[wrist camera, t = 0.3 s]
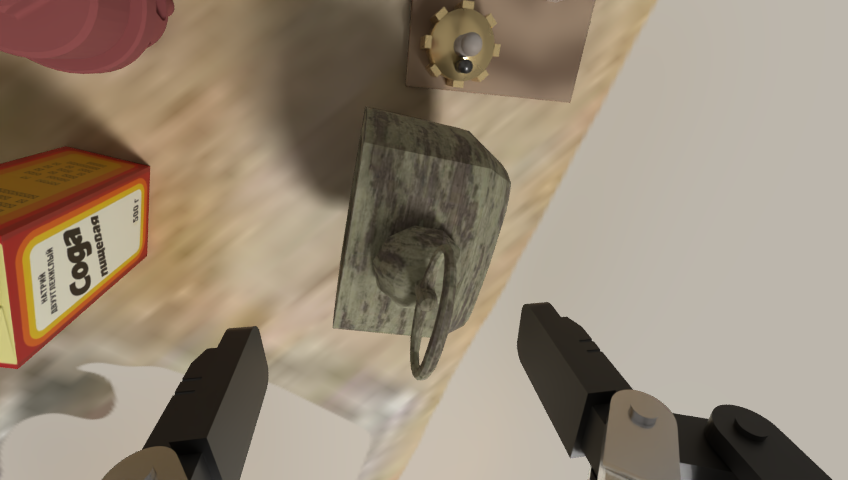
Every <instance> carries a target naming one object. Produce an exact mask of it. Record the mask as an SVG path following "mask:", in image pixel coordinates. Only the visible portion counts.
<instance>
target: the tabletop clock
mask: <svg viewBox="0 0 848 480" xmlns="http://www.w3.org/2000/svg"><path fill="white" fill-rule="evenodd" d="M510 187H511V182H510V179H509V176H508V173H507V171H506V170H505V168H504V167H503V165H502V164H501V163H500V162H499V161H498V160H497V159H496V158H495V157H494V156H493V155H492V154H491V153H490V152H489V151H488V150H487V149H486V148H485V147H484V146H483V145H482V144H481V143H480V142H479V141H478V140H477V139H476V138H475V137H474V136H473V135H472V134H471V133H470V132H469V131H467V130H463V129H460V128H456V127H452V126H447V125H443V124H439V123H435V122H430V121H426V120H422V119H417V118H413V117H409V116H404V115H400V114H396V113H391V112H387V111H383V110H378V109H374V108H370V107H366V108H365V113H364V118H363V124H362V130H361V136H360V142H359V148H358V154H357V160H356V166H355V172H354V178H353V184H352V191H351V197H350V203H349V209H348V215H347V221H346V228H345V234H344V241H343V247H342V254H341V261H340V269H339V277H338V285H337V293H336V301H335V310H334V319H333V328H335V329H346V330H356V331H367V332H377V333H388V334H398V335H409V336H411V345H410V362H411V370H412V374H413V376H414V377H415V378H416V379H417V380H425V379H427V378H428V377H429V376H430V375H431V373H432V372H433V371H434V370H435V368H436V365H437V363H438V361H439V358H440V356H441V354H442V351H443V347H444V344H445V341H446V338H447V335H448V333H450V332H452V331H454V330H456V329H458V328H460V327H462V326H464V324H465V323H466V322H467V320H468V319H469V317H470V315H471V313H472V310H473V308H474V305H475V303H476V300H477V297H478V295H479V292H480V289H481V287H482V284H483V281H484V278H485V276H486V273H487V270H488V268H489V265H490V262H491V258H492V255H493V252H494V249H495V246H496V242H497V239H498V236H499V233H500V230H501V226H502V223H503V220H504V216H505V213H506V209H507V205H508V200H509V194H510ZM421 337H430V341H429V344H428V347H427V350H426V353H425V356H424V359H423V361H422V363H421V365H419V348H420V343H421Z"/></svg>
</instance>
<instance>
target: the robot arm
mask: <svg viewBox="0 0 848 480" xmlns="http://www.w3.org/2000/svg"><path fill="white" fill-rule="evenodd" d="M517 349H518V355H519V359H520V362H521V364H522V366H523V368H524V369H525V371H526V373H527V375H528V377H529V379H530V381H531V383H532V385H533V387H534V389H535V391H536V393H537V395H538V396H539V399H540V400H541V402H542V404H543V406H544V408H545V410H546V412H547V414H548V416H549V418H550V420H551V421H552V423H553V425H554V427H555V429H556V431H557V433H558V435H559V437H560V439H561V441H562V443H563V445H564V446H565V449H566V450H567V453H568V455H569V457H570V458H576V457H583V456H586V458H587V459H588V461H589V463H590V465H591V466H590V469H589V473H588V480H832V479H831V478H830V477H829V476H828V475H827V474H826V473H825V472H824V471H823V470H822V469H820V468H819V467H818V466H817V465H816V464H815V463H814V462H813V461H812V460H811V459H810V458H809V457H808V456H806V454H805V453H804V452H803V451H802V450H800V449H799V448H798V447H797V446H796V445H795V444H794V443H793V442H792V441H791V440H790V439H789V438H788V437H787V436H786V435H785V434H784V433H783V432H781V431H780V430H779V429H778V428H777V427H776V426H775V425H773V423H771V422H770V421H769V420H767V419H766V418H764V417H762V416H761V415H759V414H757V413H755V412H753V411H751V410H748V409H745V408H743V407H739V406H735V405H720V406H717V407H716V408H715V409H714V410H713V411H712V414H711V416H710V418H709V419H705V418H698V417H693V416H686V415H680V414H674V413H672V412H671V411H670V410H669V408H668V407H667V406H666V405H664V404H663V403H662V402H660V401H659V400H658V399H656V398H655V397H653V396H651V395H649V394H646V393H644V392H641V391H636V390H633V389H632V388H631V387H630V385H629V384H628V383H627V382H626V380H625V379H624V378H623V377H622V376H621V374H620V373H619V372H618V371H617V370H616V368H615V367H614V366H613V364H612V363H611V362H610V361H609V360H608V359H607V357H606V356H605V355H604V354H603V352H600V349H599V348H598V346H597V345H596V344H595V342H593V341H592V339H591V337H590V336H589V335H588V334H587V333H586V331H585V330H584V329H583V328H582V327H581V326H580V325H578V324H577V323H575V322H574V321H572V320H571V319H569V318H568V317H560V315H559V314H558V313H557V312H556V310H555V309H554V307H553V306H552V305H551V304H550V303H548V302H544V303H533V304H525V305H523V308H522V313H521V320H520V326H519V333H518V341H517ZM267 385H268V365H267V361H266V357H265V353H264V348H263V344H262V340H261V336H260V332H259V329H258V327H256V326H253V327H241V328H229V329H227V330H226V332H225V333H224V335H223V337H222V339H221V341H220V343H219V345H218V347H217V348H209V349H206V350H205V351H204V352H203V353H202V354H201V355H200V356H199V357H198V358H196V359H195V360H194V361H193V362H192V363H191V365H190V367H189V368H188V370H187V372H186V374H185V375H184V377H183V381H182V382H180V384H179V386H178V388H177V389H176V391H175V395H174V396H173V397H172V398H171V400H170V402H169V403H168V405H167V407H166V409H165V410H164V412H163V414H162V416H161V417H160V419H159V421H158V423H157V424H156V426H155V428H154V430H153V431H152V433H151V435H150V437H149V438H148V440H147V442H146V444H145V445H144V447H143V449H142V450H140V451H138V452H136V453H134V454H132V455H130V456H128V457H126V458H125V459H123V460H122V461H121V462H119V463H118V464H117V465H115V466H114V467H113V468H112V469H111V470H110V471H109V472H108V473H107V474H106V475H105V476H104V478H103V479H102V480H240V477H241V473H242V470H243V467H244V463H245V460H246V457H247V453H248V450H249V447H250V443H251V440H252V436H253V433H254V430H255V426H256V423H257V420H258V416H259V413H260V410H261V406H262V403H263V399H264V396H265V393H266V389H267Z"/></svg>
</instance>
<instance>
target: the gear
mask: <svg viewBox="0 0 848 480" xmlns="http://www.w3.org/2000/svg"><path fill="white" fill-rule="evenodd" d="M473 9H474V2H473V1H466V0H463V1H461V2H460V3H458V4H457V5H455V9H454V10H453V11H451V12H449V13H448V11H447V10H446V8H445V7H443V8H442V9H440V10H439V11H438V12H436V13H435V14H434V15H433V16H432V17H431V18H430V19H429V20H430V21H431V23H432V24H434V25H433V26H432V27H431V29H430V31H429V33H428V35H425V36H423V37H421V40H420V49H423V50H426V55H427V59H428V61H429V64H428V65H427V66H426V67H425V69H426V70H427V72H428V73H429V74H430V76H431V77H438V76H439V75H440V76H441V77H443V78H446V85H447V86H451V87H459V88H463V85H464V81H467V80H471V81H476V82H481V81H482V80H484V79H485V78H486V77H487V76H488V75H489V74H488V72H487V71H486V70H485V69H486V68H487V66H488V65H489V63H490V61H491V59H492V57H499V53H500V46H501V44H494V34H493V31H492V28H493V27H494V26H495V25H496V24H497V22H496V21H495V19H494V17H493V16H492V14H491V13H490V14H487V15H485V16H483V15H482V14H480V13H479V12H477V11H475V10H473ZM447 13H448V14H447ZM469 32H475V33H477V34H479V35H480V37H481V39H482V49H481V51H480V52H479V53H478V54H477V55H475V56H470V57H460V56H458V55H457V54H456V53H455V51H454V47H453V46H454V41H455V39H456V38H457V37H458V36H460V35H463V34H466V33H469ZM449 79H450V80H449Z"/></svg>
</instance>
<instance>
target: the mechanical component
mask: <svg viewBox="0 0 848 480" xmlns="http://www.w3.org/2000/svg"><path fill="white" fill-rule="evenodd" d="M173 12H174V4H173V1H172V0H0V51H3V52H6V53H9V54H13V55H16V56H21V57H26V58H28V59H30V60H32V61H34V62H36V63H39V64H41V65H43V66H46V67H49V68H52V69H55V70H59V71H64V72H69V73H80V74H90V73H105V72H112V71H115V70H118V69H121V68H123V67H125V66H127V65H129V64H131V63H132V62H133V61H135V60H136V59H137V58H138V57H139V56H140V55H141V54H142V53H143V52H144V51H145V49H146V48H147V47H150V46H151V45H153V44H154V43H156V42H157V41H158V40H159V38H160V37H161V36H162V34H163V33H164V31H165V29H166V25H167V21H168V16H170V15H172V13H173Z"/></svg>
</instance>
